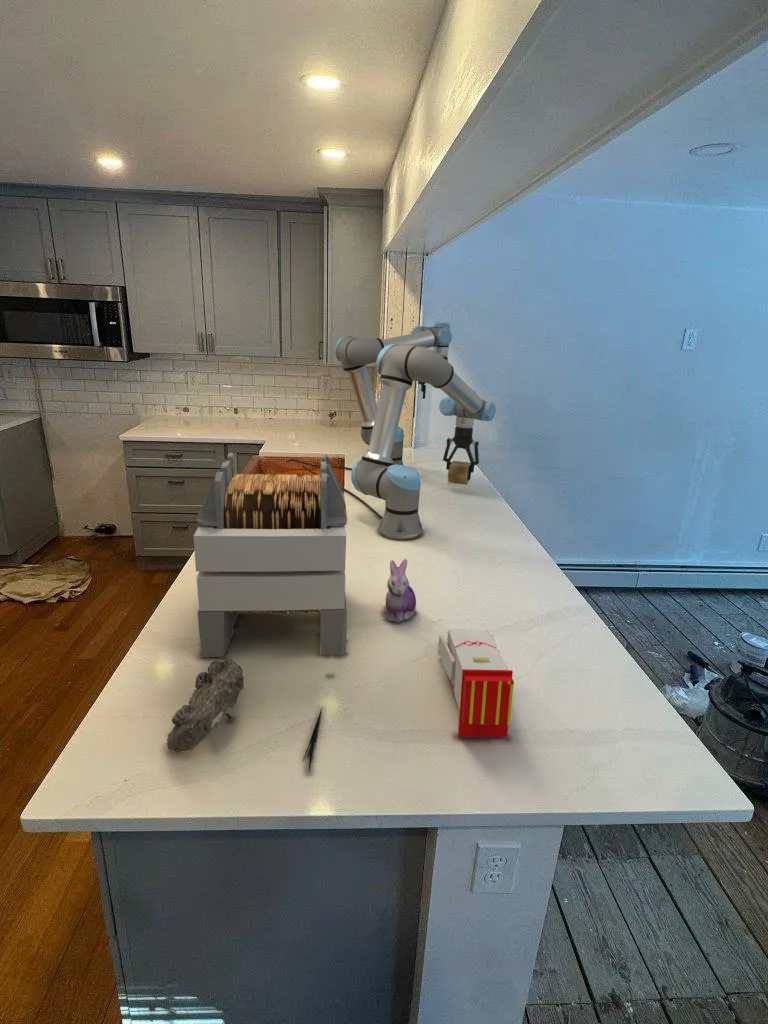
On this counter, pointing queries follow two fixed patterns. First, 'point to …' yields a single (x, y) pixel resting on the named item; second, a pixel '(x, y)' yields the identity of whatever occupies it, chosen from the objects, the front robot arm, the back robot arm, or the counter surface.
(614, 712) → the counter surface
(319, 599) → the record crate
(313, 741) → the feather
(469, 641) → the toy
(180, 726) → the fossil
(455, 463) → the block
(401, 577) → the figurine
